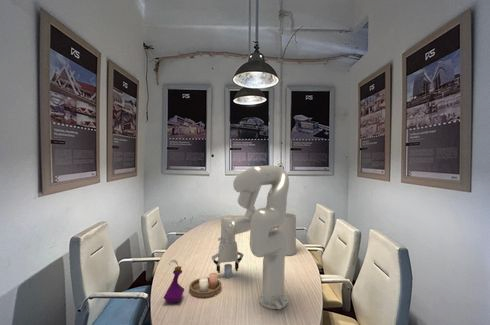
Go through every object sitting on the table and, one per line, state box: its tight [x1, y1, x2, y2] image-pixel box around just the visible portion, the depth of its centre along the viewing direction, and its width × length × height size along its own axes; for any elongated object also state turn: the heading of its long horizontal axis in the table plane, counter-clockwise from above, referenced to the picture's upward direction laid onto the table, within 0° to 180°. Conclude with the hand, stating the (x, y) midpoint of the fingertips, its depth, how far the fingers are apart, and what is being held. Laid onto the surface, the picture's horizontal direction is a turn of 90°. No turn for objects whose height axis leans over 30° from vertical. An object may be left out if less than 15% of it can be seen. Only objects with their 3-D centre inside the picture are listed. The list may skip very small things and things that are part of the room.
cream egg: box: [198, 276, 208, 292], centre depth 119 cm, size 4×4×6 cm
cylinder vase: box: [276, 212, 297, 257], centre depth 171 cm, size 12×12×25 cm
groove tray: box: [188, 276, 222, 299], centre depth 123 cm, size 15×15×2 cm
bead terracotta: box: [208, 272, 219, 289], centre depth 124 cm, size 4×4×6 cm
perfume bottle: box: [163, 258, 185, 304], centre depth 114 cm, size 8×8×18 cm
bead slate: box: [223, 263, 233, 279], centre depth 137 cm, size 4×4×6 cm
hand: (227, 271), depth 137 cm, fingers open, 9 cm apart
